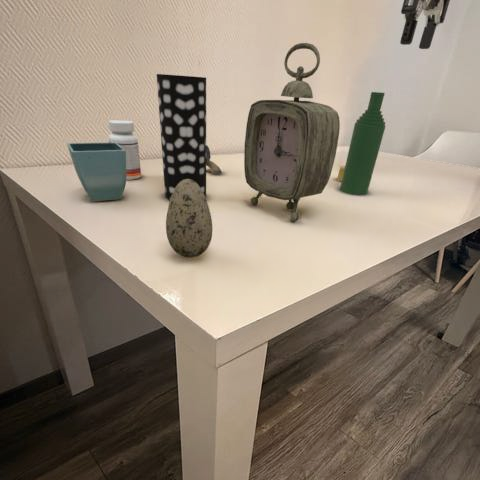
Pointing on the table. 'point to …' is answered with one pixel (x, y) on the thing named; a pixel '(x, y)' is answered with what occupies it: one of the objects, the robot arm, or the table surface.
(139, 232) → the table surface
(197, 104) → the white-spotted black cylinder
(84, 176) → the flower pot
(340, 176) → the cap
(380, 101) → the bottle
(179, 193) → the decorative egg
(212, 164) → the eagle figurine
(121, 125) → the pill bottle
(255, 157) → the tabletop clock
